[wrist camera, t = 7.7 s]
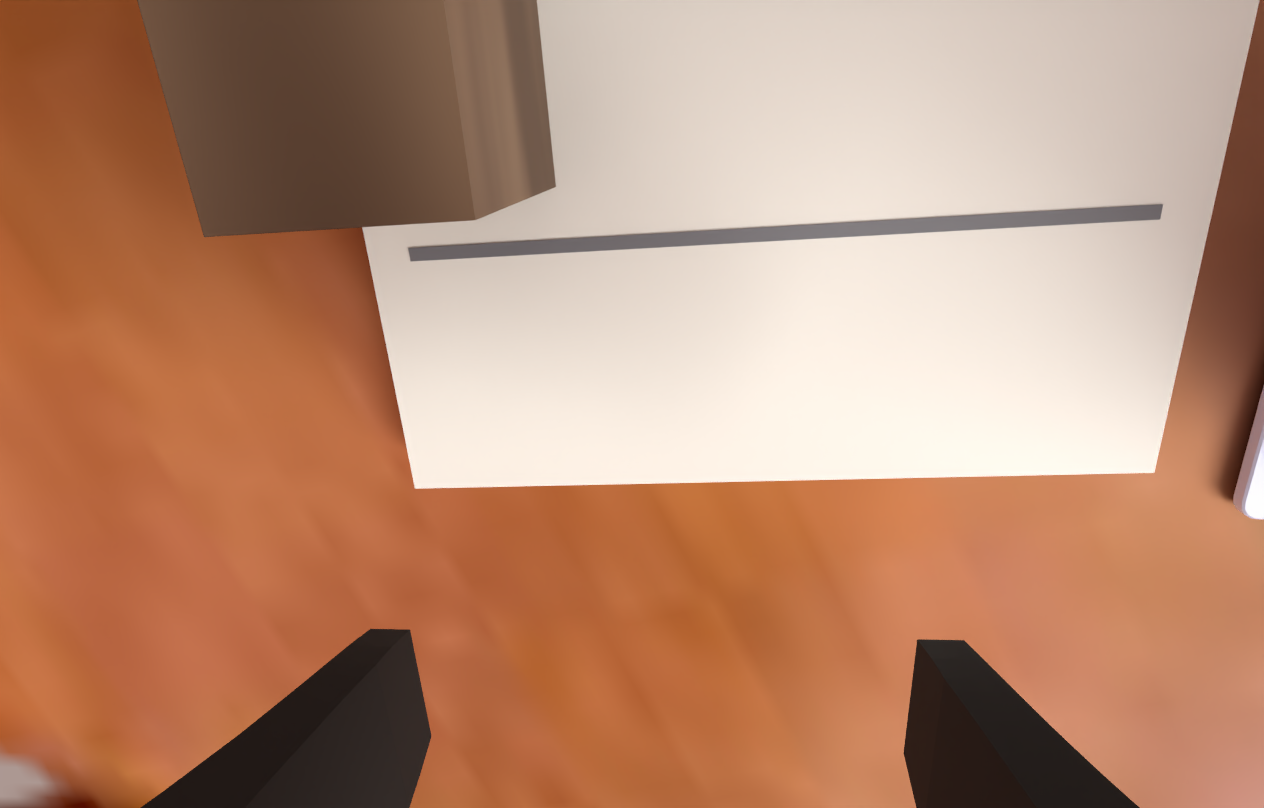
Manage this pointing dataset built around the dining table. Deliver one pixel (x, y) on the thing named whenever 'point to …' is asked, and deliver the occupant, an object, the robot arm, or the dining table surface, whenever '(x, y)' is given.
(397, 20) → the block
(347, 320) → the dining table surface
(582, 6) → the board
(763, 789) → the dining table surface
